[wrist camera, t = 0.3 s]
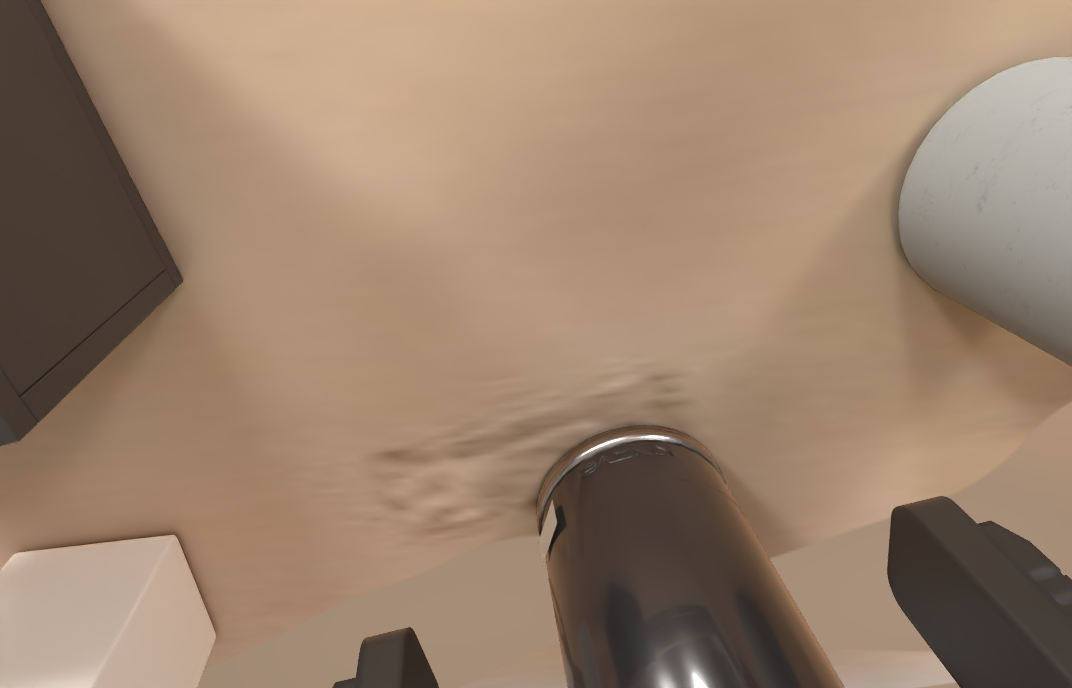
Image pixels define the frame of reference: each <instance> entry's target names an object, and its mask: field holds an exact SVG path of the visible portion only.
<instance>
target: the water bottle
mask: <svg viewBox="0 0 1072 688" xmlns="http://www.w3.org/2000/svg"><path fill="white" fill-rule="evenodd" d="M898 222H899V233H900V241H901V244H902V247H903V250H904V253H905V256H906V258H907V260H908V261H909V263H910V264H911V266H912V267H913V269H914V270H915V272H916V273H917V275H918V276H919V277H920V278H922V279H923V280H924V281H925V282H926V283H927V284H928V285H930V286H931V287H932V288H933V289H935V290H937V291H939V292H940V293H942V294H944V295H946V296H947V297H949V298H951V299H953V300H955V301H956V302H958V303H960V304H962V305H963V306H965V307H967V308H969V309H971V310H972V311H974V312H976V313H978V314H979V315H981V316H983V317H985V318H987V319H988V320H990V321H992V322H994V323H995V324H997V325H999V326H1001V327H1003V328H1004V329H1006V330H1008V331H1010V332H1011V333H1013V334H1015V335H1017V336H1019V337H1020V338H1022V339H1024V340H1026V341H1027V342H1029V343H1031V344H1033V345H1035V346H1036V347H1038V348H1040V349H1042V350H1043V351H1045V352H1047V353H1049V354H1051V355H1052V356H1054V357H1056V358H1058V359H1059V360H1061V361H1063V362H1065V363H1067V364H1068V365H1070V366H1072V57H1051V58H1046V59H1041V60H1035V61H1030V62H1025V63H1022V64H1020V65H1017V66H1015V67H1012V68H1010V69H1007V70H1005V71H1002V72H1000V73H998V74H996V75H995V76H993V77H991V78H990V79H988V80H986V81H985V82H983V83H981V84H980V85H978V86H976V87H975V88H974V89H972V90H971V91H970V92H968V93H967V94H966V95H965V96H964V97H962V98H961V99H960V100H959V101H958V102H956V103H955V104H954V105H953V106H952V107H950V109H949V110H948V111H947V112H946V113H945V114H944V115H943V116H942V117H941V119H940V120H939V121H938V122H937V123H936V124H935V125H934V126H933V127H932V129H931V130H930V132H929V133H928V135H927V136H926V138H925V139H924V141H923V142H922V144H921V145H920V147H919V148H918V150H917V152H916V154H915V156H914V158H913V160H912V162H911V165H910V167H909V169H908V171H907V173H906V177H905V180H904V184H903V187H902V191H901V194H900V202H899V211H898Z"/></svg>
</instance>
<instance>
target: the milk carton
mask: <svg viewBox="0 0 1072 688" xmlns="http://www.w3.org/2000/svg"><path fill="white" fill-rule="evenodd" d="M215 640H216V633H215V630H214V628H213V625H212V623H211V620H210V618H209V615H208V613H207V610H206V608H205V605H204V603H203V600H202V598H201V595H200V593H199V590H198V588H197V585H196V583H195V580H194V578H193V576H192V573H191V571H190V568H189V566H188V563H187V561H186V558H185V556H184V553H183V551H182V548H181V546H180V543H179V541H178V539H177V537H176V536H175V535H166V536H157V537H148V538H139V539H131V540H122V541H113V542H105V543H96V544H88V545H79V546H70V547H62V548H53V549H45V550H36V551H28V552H20V553H15V554H14V555H13V556H12V557H11V558H10V559H9V560H8V562H7V563H6V564H5V565H4V566H3V568H2V569H1V570H0V688H197V687H198V684H199V682H200V679H201V677H202V674H203V671H204V669H205V666H206V663H207V661H208V658H209V656H210V653H211V650H212V648H213V645H214V643H215Z"/></svg>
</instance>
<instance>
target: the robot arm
mask: <svg viewBox="0 0 1072 688" xmlns="http://www.w3.org/2000/svg"><path fill="white" fill-rule="evenodd" d="M536 515H537V524H538V530H539V535H540V538H539V542H538V543H539V549H540V555H541V561H542V565H543V563H544V560H545V558H546V564H547V570H548V575H549V583H550V589H551V595H552V600H553V606H554V611H555V617H556V623H557V629H558V635H559V641H560V646H561V652H562V658H563V664H564V669H565V675H566V681H567V687H568V688H845V687H844V685H843V684H842V682H841V680H840V679H839V677H838V675H837V673H836V672H835V670H834V668H833V667H832V665H831V663H830V661H829V660H828V658H827V656H826V655H825V653H824V651H823V649H822V648H821V646H820V644H819V643H818V641H817V639H816V638H815V636H814V634H813V633H812V631H811V629H810V627H809V626H808V624H807V622H806V620H805V619H804V617H803V616H802V613H801V612H800V610H799V608H798V607H797V605H796V604H795V602H794V600H793V598H792V596H791V595H790V593H789V591H788V590H787V588H786V586H785V584H784V583H783V581H782V579H781V578H780V576H779V574H778V572H777V571H776V569H775V567H774V566H773V564H772V562H771V561H770V559H769V557H768V555H767V554H766V552H765V550H764V548H763V547H762V545H761V543H760V542H759V540H758V538H757V537H756V535H755V533H754V531H753V530H752V528H751V526H750V525H749V523H748V521H747V519H746V518H745V515H744V514H743V512H742V510H741V509H740V507H739V505H738V504H737V502H736V500H735V498H734V497H733V495H732V493H731V492H730V490H729V488H728V487H727V484H726V480H725V478H724V476H723V474H722V472H721V471H720V469H719V467H718V465H717V464H716V462H715V460H714V459H713V457H712V456H711V454H710V453H709V452H708V451H707V449H706V448H705V447H703V446H702V445H701V444H700V443H699V442H698V441H696V440H695V439H693V438H691V437H690V436H688V435H686V434H684V433H682V432H679V431H676V430H673V429H669V428H665V427H659V426H647V425H641V426H629V427H622V428H618V429H613V430H610V431H607V432H604V433H601V434H599V435H596V436H594V437H592V438H590V439H588V440H586V441H584V442H582V443H581V444H579V445H578V446H576V447H575V448H573V449H572V450H571V451H569V452H568V453H567V454H566V455H564V456H563V457H562V458H561V459H560V460H559V461H558V462H557V464H556V465H555V466H554V467H553V468H552V470H551V471H550V473H549V474H548V475H547V477H546V479H545V481H544V483H543V485H542V487H541V490H540V492H539V496H538V500H537V508H536ZM887 573H888V579H889V584H890V587H891V589H892V592H893V595H894V597H895V599H896V601H897V603H898V604H899V606H900V607H901V609H902V611H903V612H904V613H905V615H906V616H907V617H908V619H909V620H910V621H911V623H912V624H913V625H914V627H915V628H916V629H917V631H918V632H919V633H920V634H921V636H922V637H923V638H924V640H925V641H926V643H927V644H928V645H929V646H930V648H931V649H932V650H933V652H934V653H935V654H936V656H937V657H938V658H939V660H940V661H941V662H942V664H943V665H944V666H945V668H946V669H947V670H948V672H949V673H950V674H951V676H952V677H953V678H954V680H955V681H956V682H957V684H958V685H959V686H960V687H961V688H1072V580H1071V579H1070V578H1069V577H1068V576H1067V575H1065V576H1064V575H1062V573H1061V571H1060V569H1059V568H1058V567H1057V566H1056V565H1055V564H1054V563H1053V562H1052V561H1050V560H1049V559H1048V558H1047V557H1046V556H1045V555H1044V554H1043V553H1042V552H1041V551H1040V550H1038V549H1037V548H1036V547H1035V546H1034V545H1033V544H1032V543H1031V542H1029V541H1028V540H1026V539H1024V538H1022V537H1020V536H1018V535H1016V534H1015V533H1013V532H1010V531H1009V530H1007V529H1005V528H1003V527H1002V526H1000V525H998V524H996V523H994V522H992V521H987V522H983V523H979V524H976V523H975V521H974V520H973V519H971V518H970V517H969V516H968V515H967V514H966V513H965V512H964V511H963V510H962V509H961V508H960V507H959V506H958V505H957V504H956V503H955V502H953V501H952V500H951V499H949V498H947V497H944V496H939V497H934V498H930V499H926V500H922V501H918V502H914V503H910V504H906V505H902V506H897V507H895V508H894V509H893V511H892V515H891V528H890V540H889V554H888V567H887ZM333 688H439V687H438V683H437V681H436V679H435V676H434V674H433V672H432V670H431V668H430V665H429V663H428V661H427V659H426V657H425V654H424V652H423V650H422V647H421V645H420V643H419V641H418V639H417V636H416V634H415V632H414V630H413V629H412V628H410V627H409V628H404V629H401V630H396V631H392V632H388V633H384V634H380V635H375V636H372V637H367V638H365V639H364V640H363V642H362V644H361V648H360V653H359V660H358V667H357V674H356V678H352V679H348V680H344V681H340V682H336V683H335V684H334V686H333Z"/></svg>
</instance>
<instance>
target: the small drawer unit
mask: <svg viewBox="0 0 1072 688" xmlns="http://www.w3.org/2000/svg"><path fill="white" fill-rule="evenodd" d="M182 282H183V279H182V277H181V275H180V273H179V271H178V269H177V267H176V265H175V264H174V262H173V260H172V258H171V256H170V254H169V252H168V250H167V248H166V246H165V244H164V242H163V240H162V238H161V236H160V234H159V232H158V230H157V228H156V226H155V224H154V223H153V221H152V219H151V217H150V215H149V213H148V211H147V209H146V207H145V205H144V203H143V201H142V199H141V197H140V195H139V193H138V191H137V189H136V187H135V185H134V183H133V181H132V180H131V178H130V176H129V174H128V172H127V170H126V168H125V166H124V164H123V162H122V160H121V158H120V156H119V154H118V152H117V150H116V148H115V146H114V144H113V142H112V140H111V139H110V137H109V135H108V133H107V131H106V129H105V127H104V125H103V123H102V121H101V119H100V117H99V115H98V113H97V111H96V109H95V107H94V105H93V103H92V101H91V99H90V98H89V96H88V94H87V92H86V90H85V88H84V86H83V84H82V82H81V80H80V78H79V76H78V74H77V72H76V70H75V68H74V66H73V64H72V62H71V60H70V58H69V57H68V55H67V53H66V51H65V49H64V47H63V45H62V43H61V41H60V39H59V37H58V35H57V33H56V31H55V29H54V27H53V25H52V23H51V21H50V19H49V17H48V16H47V14H46V12H45V10H44V8H43V6H42V4H41V2H40V0H0V446H2V445H6V444H10V443H14V442H18V441H20V440H21V439H22V438H23V437H24V436H25V435H26V434H27V433H28V432H29V431H30V430H32V429H33V428H34V427H35V426H36V425H37V423H38V422H40V421H41V420H42V419H43V418H44V417H45V416H46V415H47V414H48V413H49V412H50V411H51V410H52V409H53V408H54V407H55V406H56V405H57V404H58V403H59V402H60V401H61V400H62V399H63V398H64V397H65V396H66V395H67V394H68V393H69V392H70V391H71V390H72V389H73V388H74V387H75V386H77V385H78V384H79V383H80V382H81V381H82V380H83V379H84V378H85V377H86V376H87V375H88V374H89V373H90V372H91V371H92V370H93V369H94V368H95V367H96V366H97V365H98V364H99V363H100V362H101V361H102V360H103V359H104V358H105V357H106V356H107V355H108V354H109V353H110V352H111V351H112V350H113V349H114V348H115V347H116V346H118V345H119V344H120V343H121V342H122V341H123V340H124V339H125V338H126V337H127V336H128V335H129V334H130V333H131V332H132V331H133V330H134V329H135V328H136V327H137V326H138V325H139V324H140V323H141V322H142V321H143V320H144V319H145V318H146V317H147V316H148V315H149V314H150V313H151V312H152V311H153V310H154V309H155V308H156V307H157V306H159V305H160V304H161V303H162V302H163V301H164V300H165V299H166V298H167V297H168V296H169V295H170V294H171V293H172V292H173V291H174V290H175V288H177V287H178V286H179V285H180V284H181V283H182Z"/></svg>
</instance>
